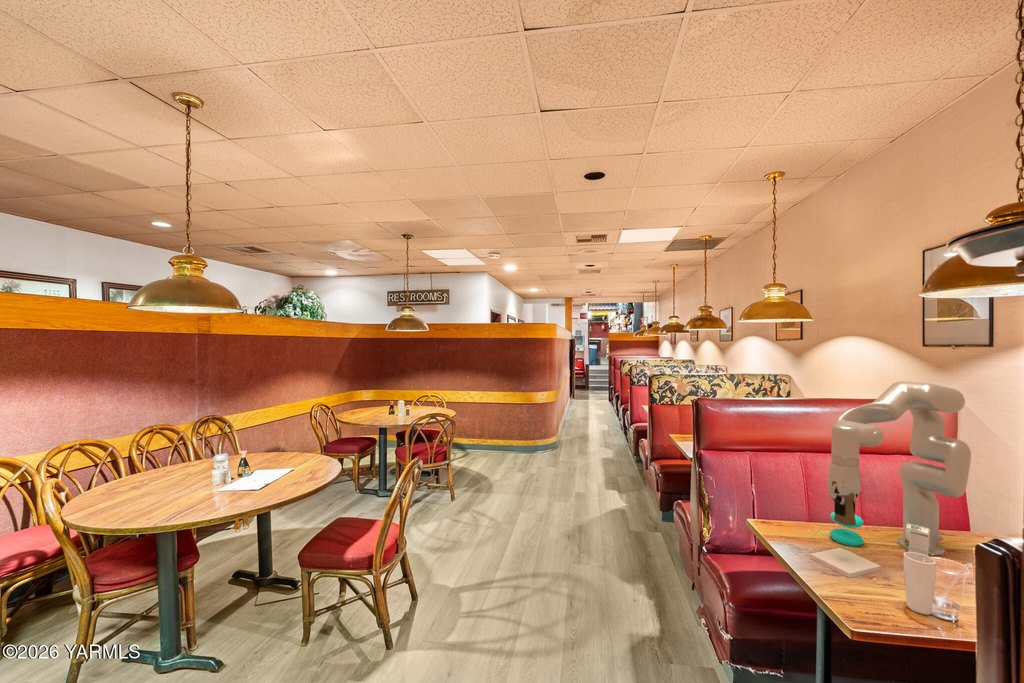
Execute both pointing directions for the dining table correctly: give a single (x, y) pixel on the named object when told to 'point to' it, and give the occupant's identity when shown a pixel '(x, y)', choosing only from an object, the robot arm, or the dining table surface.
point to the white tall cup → (919, 581)
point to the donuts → (847, 533)
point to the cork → (847, 511)
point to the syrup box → (917, 539)
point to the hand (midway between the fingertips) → (844, 513)
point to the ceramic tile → (845, 562)
